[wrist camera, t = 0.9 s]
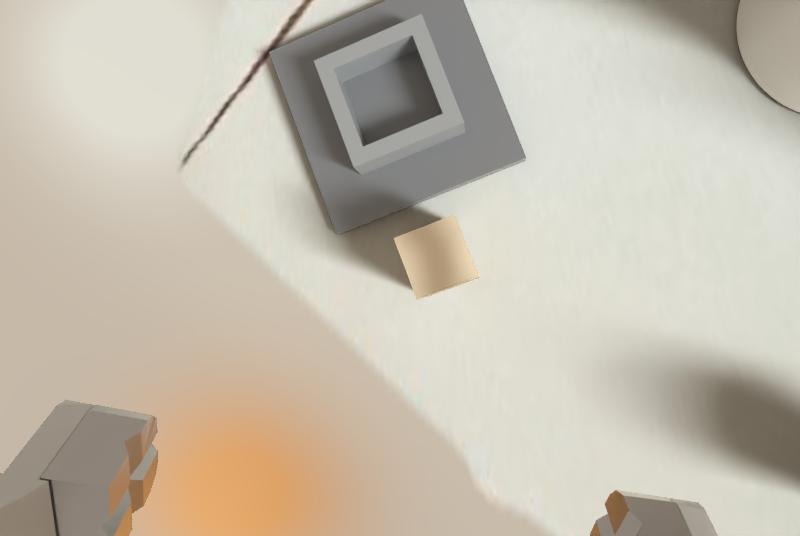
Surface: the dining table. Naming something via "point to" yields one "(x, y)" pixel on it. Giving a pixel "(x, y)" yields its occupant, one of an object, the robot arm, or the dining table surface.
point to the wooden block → (436, 257)
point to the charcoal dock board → (395, 108)
